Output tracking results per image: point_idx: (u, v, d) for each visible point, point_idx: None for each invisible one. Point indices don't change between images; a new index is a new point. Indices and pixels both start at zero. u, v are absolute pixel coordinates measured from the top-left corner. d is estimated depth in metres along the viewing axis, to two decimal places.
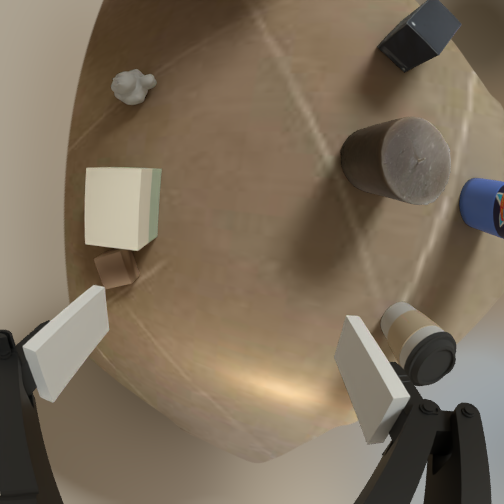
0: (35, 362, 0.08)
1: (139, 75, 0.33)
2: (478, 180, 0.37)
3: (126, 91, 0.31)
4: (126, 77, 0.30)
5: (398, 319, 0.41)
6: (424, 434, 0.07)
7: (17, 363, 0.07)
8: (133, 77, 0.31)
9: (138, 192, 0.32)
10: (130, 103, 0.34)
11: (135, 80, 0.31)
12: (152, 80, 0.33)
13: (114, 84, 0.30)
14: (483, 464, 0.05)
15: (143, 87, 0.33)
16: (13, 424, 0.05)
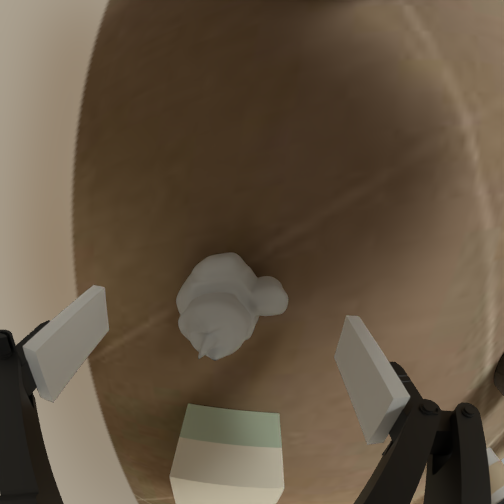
0: (35, 362, 0.08)
1: (248, 287, 0.16)
2: None
3: None
4: (230, 334, 0.13)
5: None
6: (424, 434, 0.07)
7: (17, 363, 0.07)
8: (245, 320, 0.14)
9: (274, 501, 0.16)
10: None
11: (249, 323, 0.14)
12: (285, 307, 0.16)
13: (197, 347, 0.13)
14: (483, 464, 0.05)
15: None
16: (13, 424, 0.05)
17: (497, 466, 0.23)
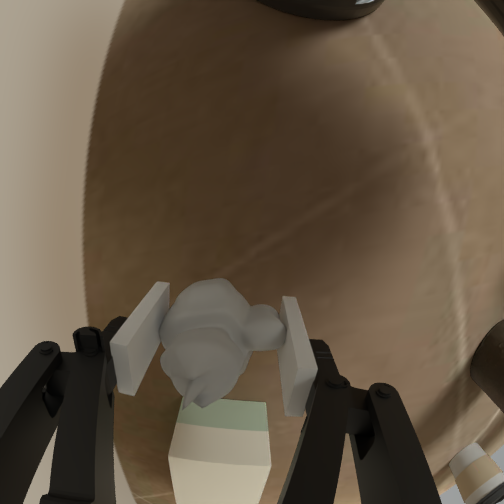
0: (122, 357, 0.10)
1: (239, 319, 0.13)
2: None
3: None
4: (219, 378, 0.11)
5: (470, 467, 0.27)
6: (336, 409, 0.08)
7: (102, 363, 0.09)
8: (237, 360, 0.12)
9: (263, 481, 0.19)
10: None
11: (242, 362, 0.12)
12: (283, 341, 0.13)
13: (182, 392, 0.11)
14: (414, 445, 0.06)
15: None
16: (84, 425, 0.06)
17: (484, 459, 0.26)
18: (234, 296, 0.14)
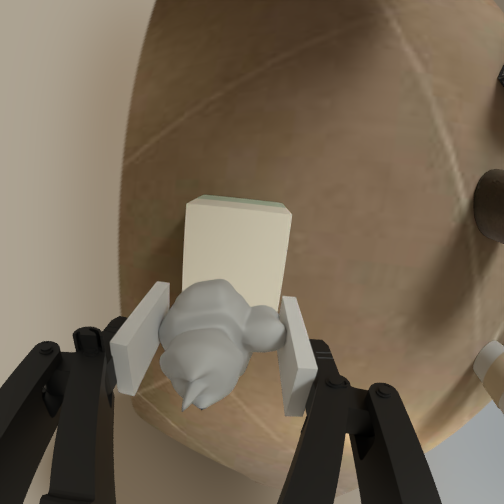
0: (122, 357, 0.10)
1: (239, 320, 0.13)
2: None
3: None
4: (219, 380, 0.11)
5: (497, 361, 0.31)
6: (336, 409, 0.08)
7: (102, 363, 0.09)
8: (237, 362, 0.11)
9: (284, 250, 0.23)
10: None
11: (242, 364, 0.12)
12: (283, 342, 0.13)
13: (181, 393, 0.11)
14: (414, 445, 0.06)
15: None
16: (84, 426, 0.06)
17: None
18: (234, 297, 0.14)
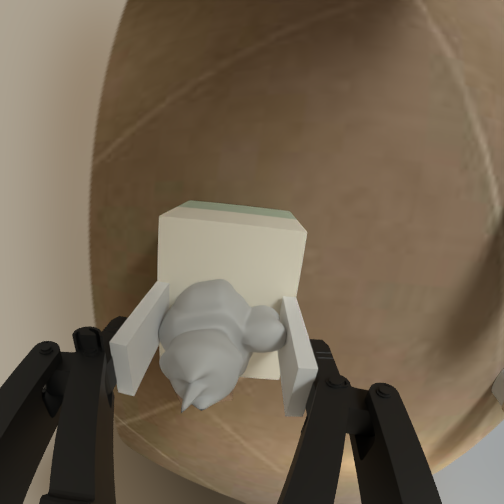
0: (122, 357, 0.10)
1: (239, 321, 0.13)
2: None
3: None
4: (219, 381, 0.11)
5: None
6: (336, 409, 0.08)
7: (102, 363, 0.09)
8: (236, 362, 0.11)
9: (295, 280, 0.16)
10: None
11: (241, 364, 0.12)
12: (283, 343, 0.13)
13: (181, 394, 0.11)
14: (414, 445, 0.06)
15: None
16: (84, 426, 0.06)
17: None
18: (234, 297, 0.14)
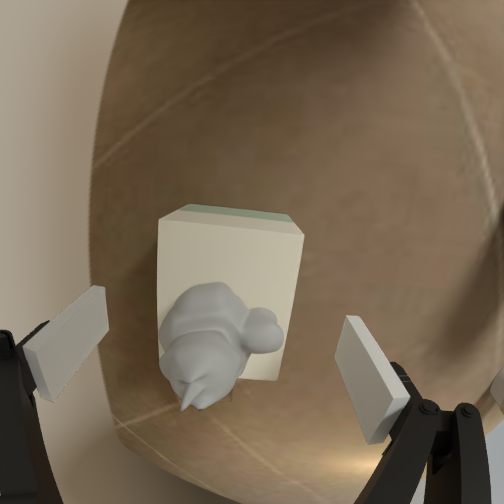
0: (35, 362, 0.08)
1: (237, 323, 0.13)
2: None
3: None
4: (217, 382, 0.11)
5: None
6: (424, 434, 0.07)
7: (17, 363, 0.07)
8: (234, 363, 0.12)
9: (293, 283, 0.16)
10: None
11: (239, 366, 0.12)
12: (281, 344, 0.14)
13: (180, 394, 0.11)
14: (483, 464, 0.05)
15: None
16: (13, 424, 0.05)
17: None
18: (232, 300, 0.14)
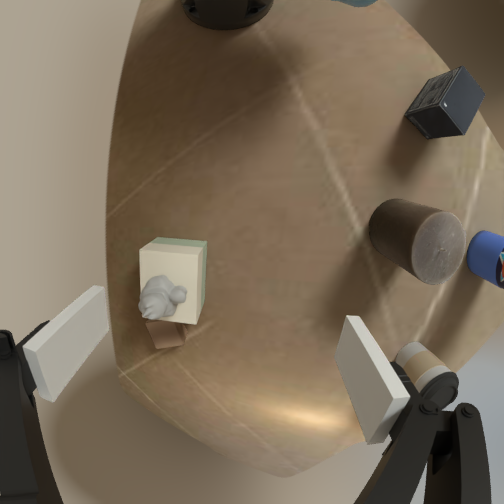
0: (35, 362, 0.08)
1: (167, 290, 0.35)
2: (485, 235, 0.42)
3: None
4: (156, 309, 0.32)
5: (411, 359, 0.45)
6: (424, 435, 0.07)
7: (17, 363, 0.07)
8: (163, 303, 0.33)
9: (195, 275, 0.38)
10: None
11: (166, 305, 0.33)
12: (184, 299, 0.35)
13: None
14: (483, 464, 0.05)
15: (174, 302, 0.35)
16: (13, 424, 0.05)
17: (425, 353, 0.45)
18: (166, 281, 0.35)
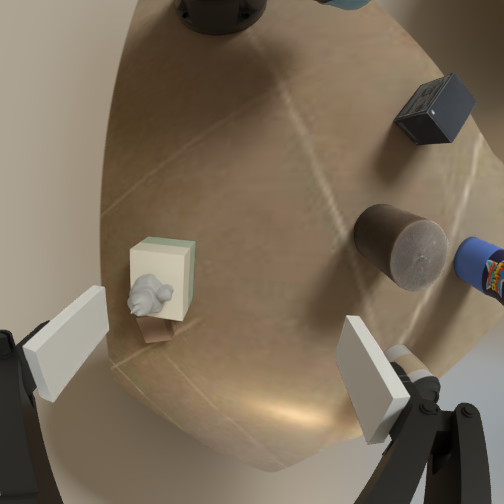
0: (35, 362, 0.08)
1: (154, 288, 0.36)
2: (473, 242, 0.43)
3: None
4: (143, 306, 0.34)
5: None
6: (424, 434, 0.07)
7: (17, 363, 0.07)
8: (150, 301, 0.34)
9: (182, 275, 0.39)
10: None
11: (153, 303, 0.35)
12: (170, 297, 0.36)
13: None
14: (483, 464, 0.05)
15: (161, 300, 0.37)
16: (13, 424, 0.05)
17: (408, 356, 0.47)
18: (154, 280, 0.37)
